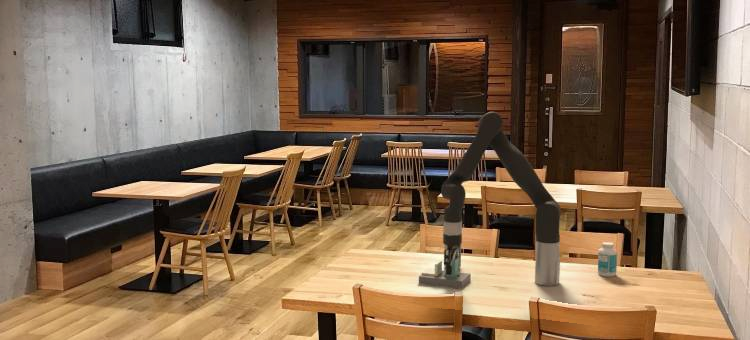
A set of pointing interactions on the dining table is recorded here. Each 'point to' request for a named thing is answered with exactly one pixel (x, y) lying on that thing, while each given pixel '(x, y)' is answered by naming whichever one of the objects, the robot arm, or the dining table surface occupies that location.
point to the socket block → (446, 280)
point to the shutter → (434, 270)
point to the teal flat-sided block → (454, 269)
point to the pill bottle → (607, 260)
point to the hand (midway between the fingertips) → (452, 271)
